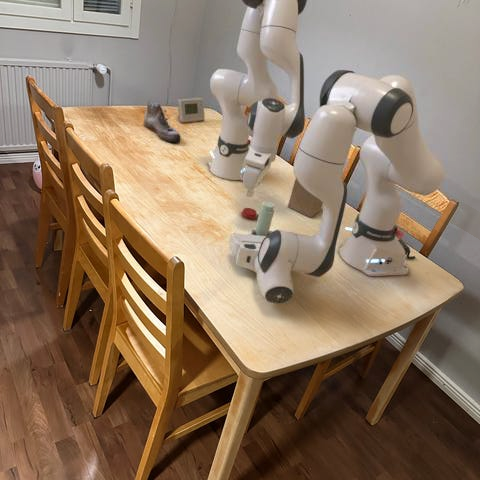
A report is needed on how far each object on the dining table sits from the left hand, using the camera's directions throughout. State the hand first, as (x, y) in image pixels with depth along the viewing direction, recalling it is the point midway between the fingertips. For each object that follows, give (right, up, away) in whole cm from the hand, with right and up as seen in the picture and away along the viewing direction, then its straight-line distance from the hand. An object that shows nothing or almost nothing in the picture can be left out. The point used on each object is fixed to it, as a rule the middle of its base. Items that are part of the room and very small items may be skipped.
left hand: (254, 189), depth 147 cm
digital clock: (-30, +44, +76) cm, 93 cm away
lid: (-1, -7, +4) cm, 8 cm away
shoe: (-40, +32, +54) cm, 74 cm away
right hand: (+2, -14, -14) cm, 20 cm away
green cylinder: (+1, -19, -11) cm, 23 cm away
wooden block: (+19, -5, +18) cm, 27 cm away
